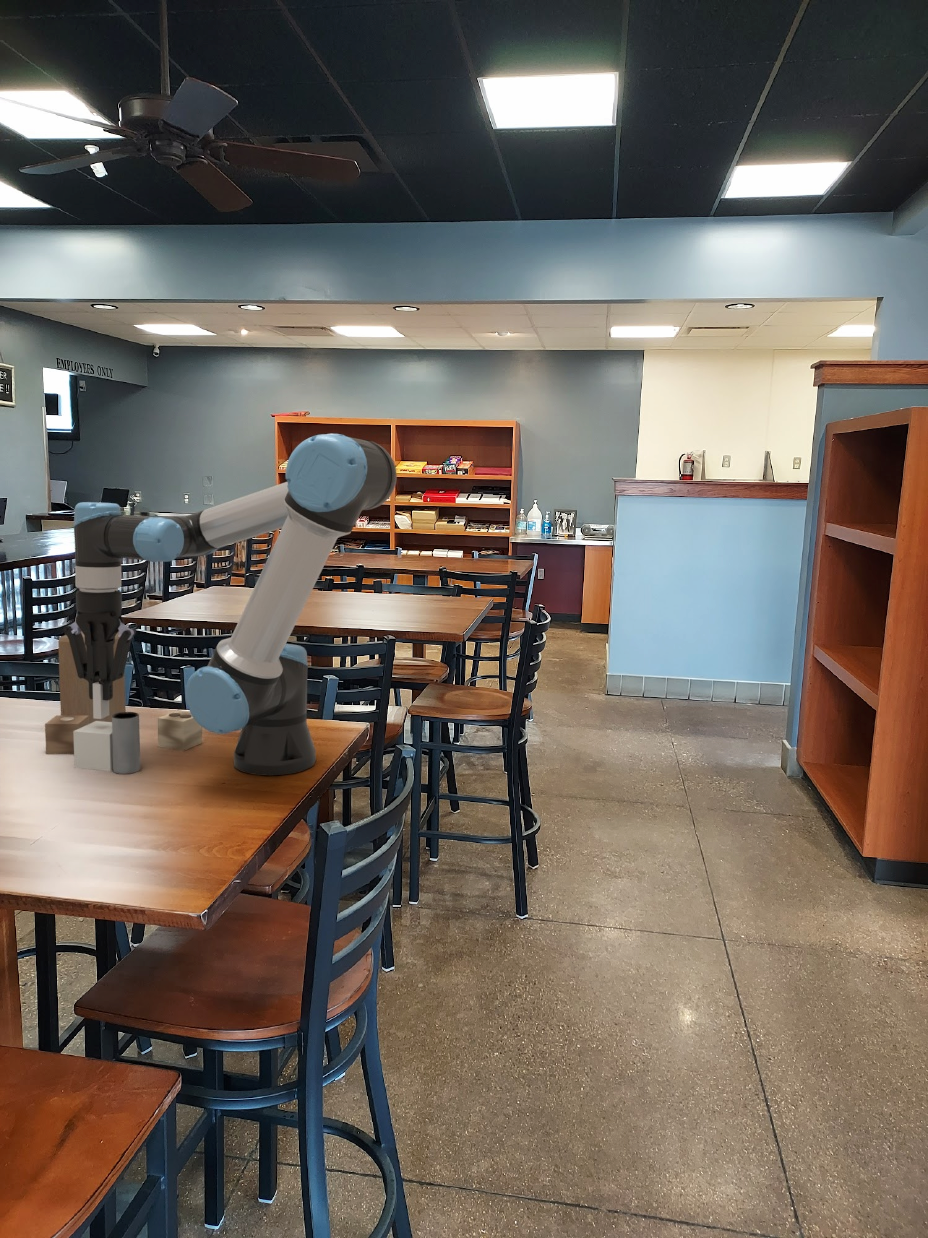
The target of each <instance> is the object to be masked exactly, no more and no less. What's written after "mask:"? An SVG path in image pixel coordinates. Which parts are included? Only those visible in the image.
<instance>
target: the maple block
mask: <svg viewBox="0 0 928 1238" xmlns="http://www.w3.org/2000/svg"><path fill="white" fill-rule="evenodd" d="M202 743H203V727H202V726H201V725H199V724H198V723H197V722H196V721H195V719H194V718H193V717H192V715H191V713H190V711H187V712H186V711H181V710H175V711H172V712H169V713H168V714H165V715H162V716H159V717H157V747H158V748H163V749H169V750H176V751H181V752H184V751H187V750H188V749H191V748H194V747H195V746H197V745H200V744H202Z"/></svg>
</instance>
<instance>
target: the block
mask: <svg viewBox="0 0 928 1238" xmlns="http://www.w3.org/2000/svg"><path fill="white" fill-rule="evenodd" d="M81 634H82V636H83V640H84V644H85V635H84V634H83V633H82V631H81ZM118 634H119V631H118V633H117V634H116V636H115V644H114V656H115V651H116V647H117V642H118V640H119V638H120V637H119V636H118ZM57 642H58V643H57V644H58V672H59V673H58V674H59V675H58V676H59V698H60V715H67V716H89V724H90V723H93V722H95V721H103V722H112V715H114V714H116V713H121V712H127V711H126V676H125V673H126V671H125V670H124V675H123V677H122V678H120V679H118V680H115V681H113V697H112V699H110V700H109V716H107V717H104V718H102V719H95V718H93V699H90V697H89V683H88V681H87V680H86V679H83V678H82V679H81V678H79V677H78V674H77V670H76V666H75V662H74V658H73V654H72V650H71V646H70V642H69V639H68V637H67V636H66V634H65V635H62V636H59V638H58V640H57ZM85 648H86V645H85ZM86 652H87V648H86ZM100 680H101V679H100ZM100 680H99V681H100Z"/></svg>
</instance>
